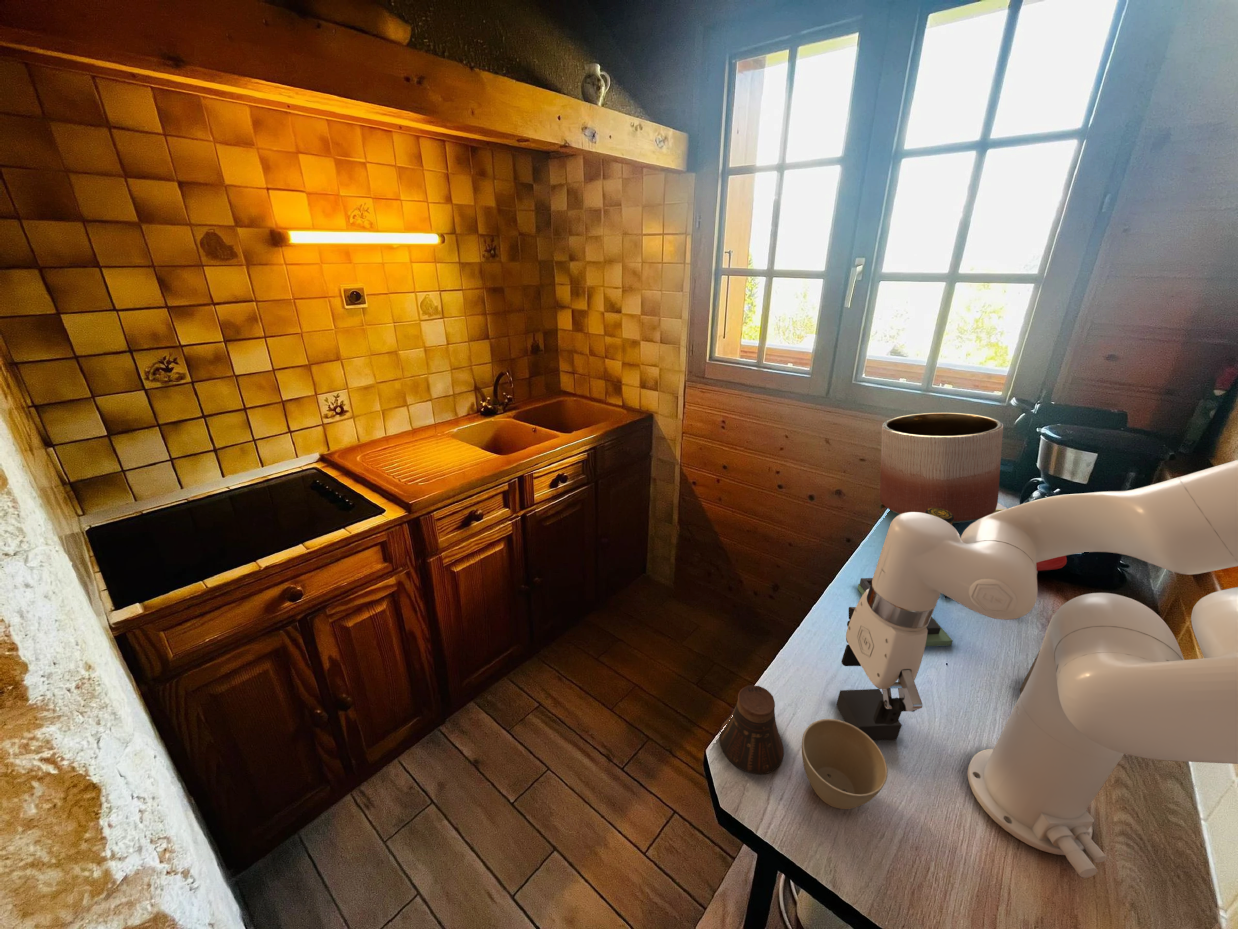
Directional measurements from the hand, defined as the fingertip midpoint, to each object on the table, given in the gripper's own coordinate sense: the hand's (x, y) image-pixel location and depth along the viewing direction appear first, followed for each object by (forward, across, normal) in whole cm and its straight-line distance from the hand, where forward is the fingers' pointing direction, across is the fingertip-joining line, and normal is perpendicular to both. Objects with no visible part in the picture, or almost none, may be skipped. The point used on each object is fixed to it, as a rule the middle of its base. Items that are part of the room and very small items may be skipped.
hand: (867, 691), depth 72 cm
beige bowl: (+6, +10, -8) cm, 14 cm away
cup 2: (-3, +4, -17) cm, 18 cm away
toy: (0, -34, +64) cm, 72 cm away
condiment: (+6, -39, +35) cm, 53 cm away
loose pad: (+6, +1, +1) cm, 6 cm away
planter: (+4, -57, +48) cm, 75 cm away
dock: (+6, -21, +19) cm, 29 cm away
